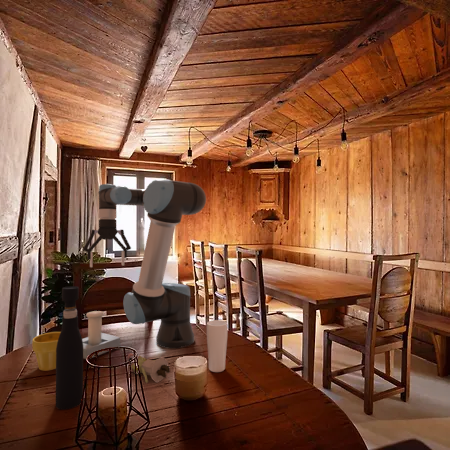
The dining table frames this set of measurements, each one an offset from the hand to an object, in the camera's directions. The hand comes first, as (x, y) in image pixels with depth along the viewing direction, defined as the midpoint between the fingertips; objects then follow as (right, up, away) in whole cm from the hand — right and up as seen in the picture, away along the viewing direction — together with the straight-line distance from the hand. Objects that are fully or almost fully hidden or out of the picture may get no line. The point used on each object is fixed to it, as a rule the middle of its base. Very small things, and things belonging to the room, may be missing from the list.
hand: (107, 266), depth 146 cm
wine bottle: (+12, -28, -61) cm, 69 cm away
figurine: (+29, -28, -46) cm, 61 cm away
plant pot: (-5, -28, -39) cm, 49 cm away
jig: (+4, -28, -25) cm, 38 cm away
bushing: (+5, -28, -26) cm, 38 cm away
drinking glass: (+50, -28, -41) cm, 71 cm away
